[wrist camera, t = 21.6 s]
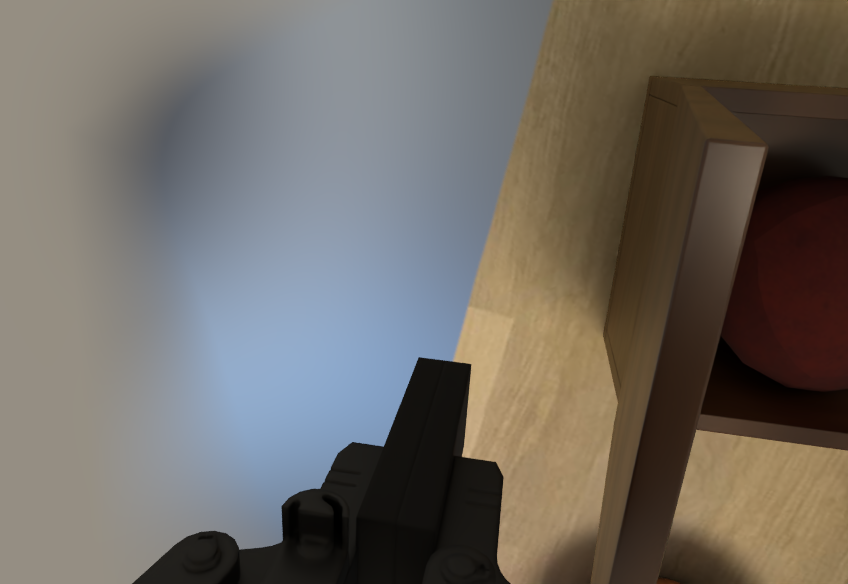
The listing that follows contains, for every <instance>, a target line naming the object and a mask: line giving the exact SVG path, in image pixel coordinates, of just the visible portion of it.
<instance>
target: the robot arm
mask: <svg viewBox="0 0 848 584" xmlns="http://www.w3.org/2000/svg"><path fill="white" fill-rule="evenodd" d="M470 374H471V364H466V363H459V362H451V361H443V360H435V359H427V358H420V357H419V358H418V361H417V363H416V366H415V369H414V371H413V374H412V376H411V379H410V381H409V384H408V387H407V389H406V392H405V394H404V397H403V399H402V402H401V405H400V407H399V409H398V412H397V414H396V417H395V420H394V422H393V425H392V427H391V430H390V432H389V435H388V438H387V440H386V443H385V445H384V447H382V446H375V445H369V444H362V443H355V442H352V443H351V444H349V445H348V446H347V447H346V448H344V449H343V450H342V451H340V452H339V453H338V455H337V457H336V458H335V461H334V463H333V465H332V467H331V470H330V471H329V473H328V475H327V477H326V479H325V482H324V483H323V485H322V487H321V489H310V490H306V491H302V492H299V493H297V494H295V495H293V496H292V497H290V498H289V499H288V500H287V501H286V502H285V503H284V504H283V505H282V527H283V541H282V543H279V544H276V545H273V546H269V547H263V548H254V549H243V550H239V547H238V545H237V543H236V541H235V539H233V538H232V537H231V536H229V535H228V534H226V533H221V532H217V531H208V532H199V533H196V534H194V535H191V536H188V537H186V538H184V539H183V540H182V541H180V542H179V543H177V544H176V545H174V546H173V547H172V548H171V549H170V550H169V551H168V552H167V553H166V554H165V555H163V556H162V557H161V558H160V559H159V560H158V561H157V562H156V563H155V564H154V565H152V566H151V567H150V568H149V569H148V570H147V571H146V572H145V573H144V574H143V575H141V576H140V577H139V578H138V579H137V580H136V581H135V582H134V583H132V584H510V583H509V582H508V581H507V580H506V579H505V577H504V576H503V574H502V573H501V571H500V569H499V566H498V564H497V548H498V536H499V524H500V512H501V500H502V488H503V475H502V473H501V471H500V469H499V467H498V465H497V463H496V462H491V461H485V460H478V459H471V458H465V457H462V453H463V447H464V439H465V428H466V417H467V406H468V395H469V384H470Z"/></svg>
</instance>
